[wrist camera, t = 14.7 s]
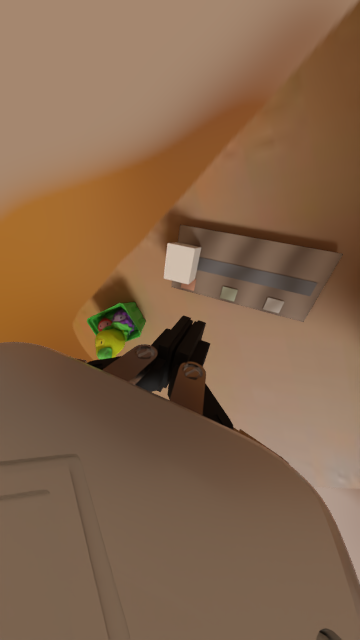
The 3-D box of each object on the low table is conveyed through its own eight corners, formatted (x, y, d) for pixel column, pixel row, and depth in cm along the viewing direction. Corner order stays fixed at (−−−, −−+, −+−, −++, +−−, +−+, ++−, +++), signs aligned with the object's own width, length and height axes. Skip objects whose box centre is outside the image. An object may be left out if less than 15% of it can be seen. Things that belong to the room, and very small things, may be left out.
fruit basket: (136, 293, 36) (96, 314, 26) (156, 329, 38) (126, 360, 28) (102, 311, 41) (58, 333, 31) (121, 341, 43) (86, 371, 34)
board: (337, 252, 23) (344, 253, 21) (300, 318, 28) (303, 322, 26) (183, 225, 27) (179, 224, 26) (174, 285, 32) (171, 287, 31)
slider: (201, 247, 26) (195, 248, 23) (194, 279, 29) (188, 284, 25) (177, 242, 27) (167, 242, 24) (172, 273, 29) (163, 278, 26)
